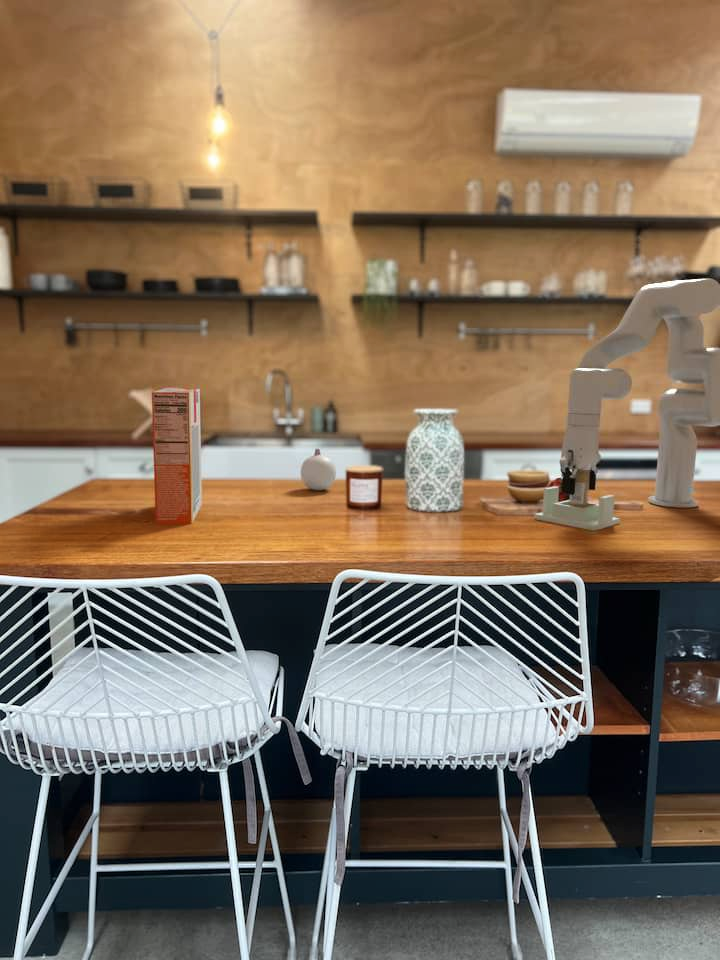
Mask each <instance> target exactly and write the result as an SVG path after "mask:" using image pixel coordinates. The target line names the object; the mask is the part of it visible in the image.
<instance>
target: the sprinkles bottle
mask: <svg viewBox="0 0 720 960" xmlns="http://www.w3.org/2000/svg"><path fill="white" fill-rule="evenodd" d="M590 470H591V463H589V464H588V466H587V467H586V468H584V469H578V470H577V472H576V474H575V476H574V478H576V482H575V494H574V495H570V506H574V507H580V508H585V507H588V502H589V493H590V490H589V476H590Z"/></svg>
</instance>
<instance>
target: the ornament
mask: <svg viewBox="0 0 720 960" xmlns="http://www.w3.org/2000/svg"><path fill="white" fill-rule="evenodd" d="M336 474H337V470H336V465H335V464H334V461H333V460H332V459H330V458H329V457H328V456H325V455H322V454H321V451H320V448H315V450H314V455H311V456H309V457H306V459H305V460H304V461H303V463H302V465H301V467H300V479H301V482H302V483H303V484H304V486H305V487H307V488H308V489H310V490H313V491H324V490H327V489H328V488H330V487H331V486H332V485H333V484H334V483H335V479H336V476H337V475H336Z"/></svg>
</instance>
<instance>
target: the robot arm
mask: <svg viewBox="0 0 720 960" xmlns="http://www.w3.org/2000/svg"><path fill="white" fill-rule="evenodd" d="M719 306H720V283H719V281H717V280H715V279H713V278H709V277H708V278H697V279H694V278H693V279H684V280H681V279H680V280H670V281H665V282H661V283H652V284H647V285H644V286H642V287H640V289H639V290H638V291H637V293H636V294H635V296H634V298H633V299H632V301H631V302H630V305H629V306H628V307H627V309H626V311H625V313H624V315H623V317H622V319H620V322H619V324H618V326H617V327H616V329H614V330H613V331H612V332H610V333H609V334H607V335H605V337H603V338H601V340H599V341H598V342H596V343H595V344H594V345H593V346H591V347H590V348H589V349H588V350H587V351H586V352H585V354H584V355H583V357H581V360H580V362H579V363H578V365H577V366H576V368H574V369H572V370H571V371H570V374H569V385H568V402H567V413H566V414H567V415H566V417H567V418H566V428H565V431H564V434H563V441H562V448H561V456H560V459H559V466H560V472H561V479H562V493H563V494H569V495H574V494H575V482H576V478H574V476H575V474H576V472H577V470H578V469H584V468H586V467H587V466H588V464H589V463H591V470H590V476H589V491H595V490H596V482H597V474H598V468H599V466H600V460H601V457H602V455H601V454H600V452H599V451H600V449H599V448H600V447H599V446H600V445H599V444H600V439H599V438H600V434H599V429H600V424H601V413H602V412H601V411H602V400H613V401H614V400H621V399H623V398H625V397H626V396H628V394H629V393H630V392H631V390H632V388H633V379H632V376H631V375H630V374H629V372H628V371H626V370H624V369H622V368H617V367H607V366H608V365H610V364H611V363H613V362H614V361H618V359H621V358H624V357H627V356H630V355H632V354H635V353H637V352H639V351H642V350H644V349H645V348H646V347H647V346H648V345H649V343H650V342H651V339H652V338H653V336H654V334H655V333H656V331H657V329H658V327H659V326H660V323H661V322H662V321H663V320H664V321H665V323H666V326H667V328H668V330H667V331H668V348H667V363H666V373H667V377H668V379H669V380H670V381H671V382H673V383H678V384H688V385H704V389H698V388H697V389H696V388H672V389H669V390H668V389H667V390H666V391H665V392H664V393H662V394H661V396H660V397H659V400H658V402H657V403H658V404H657V405H658V406H657V409H658V411H657V412H658V419H659V438H658V440H659V441H658V443H659V444H658V453H657V461H656V462H657V464H656V475H655V476H656V477H655V487H654V495H651V496H648V499H647V501H648V503H650V504H653V505H656V506H660V507H661V506H662V507H668V508H678V509H679V508H681V509H684V508H685V509H687V508H695V507H697V506H698V504H699V501H698V500H697V499H694V498H693V494H695V492H696V489H695V487H694V480H695V478H694V477H695V468H696V459H697V451H698V450H697V449H698V439H697V435H696V433H695V431H694V429H693V427H692V426H698V427H718V426H720V347H705V346H704V338H705V337H704V335H705V330H704V329H705V327H704V325H703V322H702V320H701V318H700V317H699V316H700V315H706V314H710V313H712V312H714V311H715V310H716V309H717V308H718V307H719Z"/></svg>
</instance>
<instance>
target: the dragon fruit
mask: <svg viewBox="0 0 720 960" xmlns="http://www.w3.org/2000/svg"><path fill="white" fill-rule="evenodd" d="M554 486H556V487H559V496H558V502H562V501H566V500H570V495H569V494H563V493H562V477H556V478H555V479H554V480H553V481H551V482H550V483H548V485H547V486H546V488H547V487H548V488H549V487H554Z"/></svg>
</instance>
